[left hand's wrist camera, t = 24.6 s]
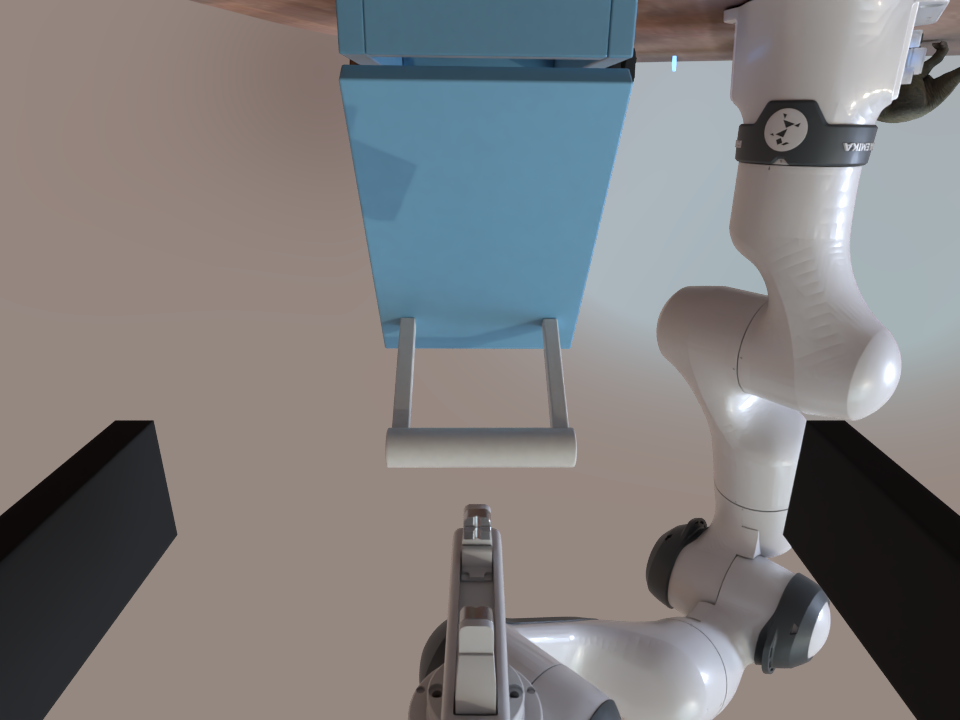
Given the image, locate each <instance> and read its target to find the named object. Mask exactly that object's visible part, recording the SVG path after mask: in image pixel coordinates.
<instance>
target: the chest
mask: <svg viewBox="0 0 960 720" xmlns="http://www.w3.org/2000/svg"><path fill="white" fill-rule="evenodd" d="M637 3H638V0H336V13H337V29H338V44H339V53H340V54H342V55H343V56H345V57H347V58H349V59H351V60H352V61H354V62H356V63H358V64H360V65H403V66H476V67H550V68H607V67H609V66H612V65H614V64H617V63H619V62H622V61H624V60H627V59H629V58H632V56H633V49H634V38H635V26H636V15H637Z"/></svg>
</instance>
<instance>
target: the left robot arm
mask: <svg viewBox="0 0 960 720" xmlns="http://www.w3.org/2000/svg"><path fill="white" fill-rule="evenodd" d="M176 536H177V531H176V526H175V521H174V516H173V512H172V507H171V502H170V497H169V492H168V488H167V483H166V478H165V473H164V468H163V464H162V459H161V454H160V449H159V444H158V440H157V435H156V430H155V425H154V421H114V422H113V423H112V424H111V425H109V426H108V427H107V428H106V429H105V430H103V431H102V432H101V433H100V434H99V435H97V436H96V437H95V438H94V439H93V440H91V441H90V442H89V443H88V444H86V445H85V446H84V447H83V448H82V449H80V450H79V451H78V452H77V453H76V454H74V455H73V456H72V457H71V458H70V459H68V460H67V461H66V462H65V463H64V464H62V465H61V466H60V467H59V468H58V469H56V470H55V471H54V472H53V473H51V474H50V475H49V476H48V477H47V478H45V479H44V480H43V481H42V482H41V483H39V484H38V485H37V486H36V487H35V488H33V489H32V490H31V491H30V492H29V493H27V494H26V495H25V496H24V497H23V498H21V499H20V500H19V501H18V502H17V503H15V504H14V505H13V506H12V507H10V508H9V509H8V510H7V511H6V512H4V513H3V514H2V515H1V516H0V720H43V719H44V717H45V716H46V715H47V713H48V712H49V711H50V709H51V708H52V706H53V705H54V704H55V702H56V701H57V700H58V698H59V697H60V695H61V694H62V693H63V691H64V690H65V689H66V687H67V686H68V684H69V683H70V682H71V680H72V679H73V678H74V676H75V675H76V673H77V672H78V671H79V669H80V668H81V667H82V665H83V664H84V662H85V661H86V660H87V658H88V657H89V656H90V654H91V653H92V651H93V650H94V649H95V647H96V646H97V645H98V643H99V642H100V640H101V639H102V638H103V636H104V635H105V633H106V632H107V631H108V629H109V628H110V627H111V625H112V624H113V623H114V621H115V620H116V618H117V617H118V616H119V614H120V613H121V612H122V610H123V609H124V607H125V606H126V605H127V603H128V602H129V601H130V599H131V598H132V596H133V595H134V594H135V592H136V591H137V589H138V588H139V587H140V585H141V584H142V583H143V581H144V580H145V578H146V577H147V576H148V574H149V573H150V572H151V570H152V569H153V568H154V566H155V565H156V563H157V562H158V561H159V559H160V558H161V557H162V555H163V554H164V552H165V551H166V550H167V548H168V547H169V545H170V544H171V543H172V541H173V540H174V539H175V537H176ZM783 536H784V537H785V539H786V540H787V541H788V543H789V544H790V546H791V547H792V548H793V550H794V551H795V552H796V554H797V555H798V557H799V558H800V559H801V561H802V562H803V563H804V565H805V566H806V568H807V569H808V570H809V572H810V573H811V574H812V576H813V577H814V578H815V580H816V581H817V583H818V584H819V585H820V587H821V588H822V590H823V591H824V592H825V594H826V595H827V596H828V598H829V599H830V601H831V602H832V603H833V605H834V606H835V607H836V609H837V610H838V612H839V613H840V614H841V616H842V617H843V618H844V620H845V621H846V623H847V624H848V625H849V627H850V628H851V629H852V631H853V632H854V634H855V635H856V636H857V638H858V639H859V640H860V642H861V643H862V644H863V646H864V647H865V649H866V650H867V651H868V653H869V654H870V656H871V657H872V658H873V660H874V661H875V662H876V664H877V665H878V667H879V668H880V669H881V671H882V672H883V673H884V675H885V676H886V678H887V679H888V680H889V682H890V683H891V684H892V686H893V687H894V689H895V690H896V691H897V693H898V694H899V695H900V697H901V698H902V700H903V701H904V702H905V704H906V705H907V706H908V708H909V709H910V711H911V712H912V713H913V715H914V716H915V717H916V719H917V720H960V516H959V515H958V514H957V513H956V512H954V511H953V510H952V509H951V508H950V507H948V506H947V505H946V504H945V503H943V502H942V501H941V500H940V499H939V498H937V497H936V496H935V495H934V494H933V493H931V492H930V491H929V490H928V489H927V488H925V487H924V486H923V485H922V484H920V483H919V482H918V481H917V480H916V479H915V478H913V477H912V476H911V475H910V474H908V473H907V472H906V471H905V470H904V469H902V468H901V467H900V466H899V465H898V464H896V463H895V462H894V461H893V460H892V459H890V458H889V457H888V456H887V455H886V454H884V453H883V452H882V451H881V450H879V449H878V448H877V447H876V446H875V445H874V444H872V443H871V442H870V441H869V440H867V439H866V438H865V437H864V436H863V435H861V434H860V433H859V432H858V431H857V430H855V429H854V428H853V427H852V426H851V425H849V424H848V423H847V422H846V421H806V425H805V430H804V435H803V440H802V444H801V449H800V454H799V459H798V464H797V468H796V473H795V478H794V483H793V488H792V492H791V497H790V502H789V507H788V512H787V516H786V521H785V526H784V531H783Z"/></svg>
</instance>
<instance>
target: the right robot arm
mask: <svg viewBox="0 0 960 720" xmlns="http://www.w3.org/2000/svg"><path fill="white" fill-rule="evenodd" d="M949 1H950V0H752V1H749V2H747V3H745V4H744V5H742V6H740V7H737V8H733V9H729V10H725V11H724V22H725V23H730V24H736V25H735V38H734V50H733V64H732V77H731V92H730V97H731V100H732V101H733V103H734V104H735V105H736V106H737V107H738V108H739V110H740V111H741V114H742V117H743V121H744V124H741V125H740V126H739V131H738V138H737V140H736V146H735V147H736V156H735V159H736V160H737V161H739V165H738V172H737V179H736V185H735V192H734V199H733V206H732V212H731V219H730V226H729V229H730V236H731V239H732V242H733V244H734V246H735V247H736V249H737V250H738V251H739V252H740V253H741V254H742V255H743V256H745V257H746V258H747V259H748V260H750V261H751V262H752V263H753V264H754V265H755V266H756V267H757V269H758V270H759V271H760V273H761V275H762V277H763V279H764V281H765V284H766V287H767V291H768V296H767V295H763V294H758V293H753V292H749V291H744V290H740V289H735V288H731V287H726V286H688V287H685V288H682V289H680V290H679V291H678V292H676V293H675V294H674V295H673V296H672V297H671V298H670V299H669V300H668V301H667V303H666V304H665V305H664V307H663V309H662V311H661V313H660V316H659V319H658V323H657V341H658V345H659V348H660V351H661V353H662V354H663V356H664V357H665V358H666V359H667V360H668V361H669V362H671V363H672V364H673V365H674V366H675V367H676V369H677V370H678V371H679V372H680V373H681V374H682V376H683V377H684V378H685V380H686V381H687V382H688V384H689V386H690V387H691V389H692V390H693V392H694V394H695V396H696V398H697V399H698V401H699V403H700V405H701V407H702V409H703V412H704V414H705V416H706V419H707V421H708V424H709V427H710V431H711V436H712V447H713V462H714V490H715V500H716V509H715V516H714V519H713V521H712V523H711V525H710V526H709V527H707V524H706V522H705V520H704V519H702V518H694V519H692V520H690V521H689V523H688V524H685V525H679V526H677V527H675V528H673V529H671V530H670V531H668V532H666V533H665V534H663V535H662V536H661V537H660V538H659V539H658V541H657V542H656V544H655V546H654V547H653V549H652V552H651V554H650V557H649V560H648V563H647V568H646V580H647V585H648V589H649V591H650V592H651V593H652V594H653V595H654V596H655V597H656V598H657V599H658V600H659V601H661V602H662V603H663V604H664V605H666V606H667V607H669V608H671V609H673V608H675V609H676V610H678V611H679V612H681V613H682V614H683V615H685V616H686V617H673V618H666V619H662V620H658V621H649V622H626V621H612V620H598V619H591V618H581V617H543V618H516V619H510V618H505V602H504V583H503V562H502V543H501V536H500V532H499V531H498V530H497V529H494V528H491V509H490V507H489V506H488V505H485V504H469V505H467V506H466V507H465V508H464V528H459V529H457V530H456V531H455V533H454V536H453V543H452V558H451V573H450V587H449V602H448V617H447V620H446V621H444V622H443V623H442V624H441V625H440V626H438V628H437V629H436V630H435V631H434V632H433V633H432V635H431V636H430V638H429V639H428V641H427V643H426V645H425V647H424V650H423V653H422V656H421V662H420V672H419V682H420V684H419V686H418V687H417V689H416V691H415V693H414V695H413V697H412V699H411V703H410V706H409V712H408V720H621V717H622V718H624V719H625V720H712V719H713V718H714V717H716V716H717V715H718V714H719V713H720V712H721V711H722V710H723V709H724V708H725V707H726V706H727V704H728V703H729V702H730V700H731V699H732V697H733V695H734V694H735V692H736V690H737V687H738V685H739V682H740V679H741V676H742V673H743V671H744V669H745V667H746V666H747V665H749V664H751V663H755V664H756V665H762V671H763V673H765V674H772V673H773V671H774V670H775V668H793V667H796V666H799V665H802V664H804V663H807V662H809V661H810V660H811V659H812V657H813V656H814V655H815V654H816V653H817V652H818V651H819V650H820V649H821V647H822V646H823V645H824V643H825V641H826V639H827V637H828V634H829V630H830V610H829V604H830V603H829V599H828V596H827V595H826V594H825V592H824V591H823V590H822V588H821V587H820V586H819V585H818V584H816V583H815V582H814V581H812V580H810V579H809V578H807V577H806V576H804V575H802V574H800V573H797V574H795V573H793V572H791V571H789V570H788V569H786V568H784V567H782V566H780V565H778V564H776V563H774V562H773V561H770V560H768V559H767V558H769V557H775V556H778V555H781V554H783V553H785V552H787V551H788V550H789V549H790V548H791V546H790V544H789V543H788V541H787V540H786V539H785V537H784V536H783V531H784V526H785V521H786V516H787V512H788V507H789V502H790V497H791V492H792V488H793V483H794V478H795V473H796V468H797V464H798V459H799V454H800V449H801V444H802V440H803V435H804V430H805V425H806V421H807V420H806V419H805V418H804V416H803V415H802V414H801V413H800V412H803V413H806V414H813V415H818V416H824V417H830V418H838V419H845V420H854V421H855V420H859V419H861V418H864V417H866V416H868V415H870V414H872V413H874V412H875V411H876V410H878V409H879V408H880V407H881V406H883V405H884V404H885V403H886V402H887V401H888V399H889V398H890V397H891V396H892V394H893V393H894V391H895V389H896V387H897V385H898V382H899V379H900V374H901V356H900V351H899V348H898V345H897V343H896V341H895V339H894V337H893V336H892V334H891V333H890V331H889V330H887V329H886V328H885V327H884V326H883V325H882V324H881V323H880V321H879V320H878V319H877V318H876V317H875V316H874V314H873V313H872V312H871V311H870V309H869V307H868V306H867V304H866V303H865V301H864V299H863V297H862V295H861V293H860V291H859V289H858V286H857V284H856V281H855V277H854V274H853V270H852V265H851V258H850V234H851V226H852V218H853V212H854V205H855V199H856V194H857V188H858V183H859V178H860V173H861V169H862V165H865V164H866V163H868V159H869V156H870V153H871V150H873V147H874V139H875V136H876V132H877V129H878V127H877V126H876V125H874V124H875V122H876V120H877V118H878V116H879V115H880V113H881V111H882V110H883V109H884V108H885V107H887V106H888V105H890V104H891V103H892V100H894V99H896V98H898V95H899V90H900V86H901V84H911V81H912V78H913V75H916V74H921V72H922V68H923V64H924V60H925V55H926V51H927V48H925V47H924V48H915V47H919V46H920V44H921V42H922V38H923V30H913V28H914V26H920V25H927V24H932V23H935V22H937V20H938V19H939V17H940V16H941V14H942V12H943V11H944V9H945V8H946V6H947V5H948V3H949ZM913 47H914V49H913ZM909 48H911V49H909ZM672 70H673V71H676V56H673V60H672ZM799 411H800V412H799ZM620 716H621V717H620Z"/></svg>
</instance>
